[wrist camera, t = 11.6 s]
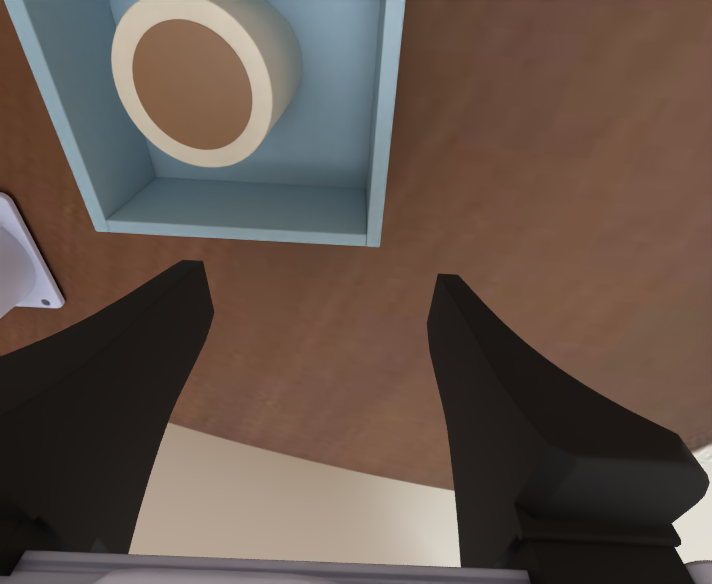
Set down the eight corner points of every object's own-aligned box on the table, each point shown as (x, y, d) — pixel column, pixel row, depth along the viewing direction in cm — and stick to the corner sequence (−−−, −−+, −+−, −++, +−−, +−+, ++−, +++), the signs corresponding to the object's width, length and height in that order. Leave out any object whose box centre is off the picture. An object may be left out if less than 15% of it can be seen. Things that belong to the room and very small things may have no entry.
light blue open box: (151, 183, 21) (95, 231, 16) (58, -154, 13) (-89, -228, 9) (376, 196, 21) (379, 247, 17) (405, -128, 14) (425, -189, 9)
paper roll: (206, 113, 18) (136, 164, 13) (186, -10, 15) (84, -16, 10) (304, 119, 18) (277, 172, 13) (301, -2, 15) (265, -4, 10)
